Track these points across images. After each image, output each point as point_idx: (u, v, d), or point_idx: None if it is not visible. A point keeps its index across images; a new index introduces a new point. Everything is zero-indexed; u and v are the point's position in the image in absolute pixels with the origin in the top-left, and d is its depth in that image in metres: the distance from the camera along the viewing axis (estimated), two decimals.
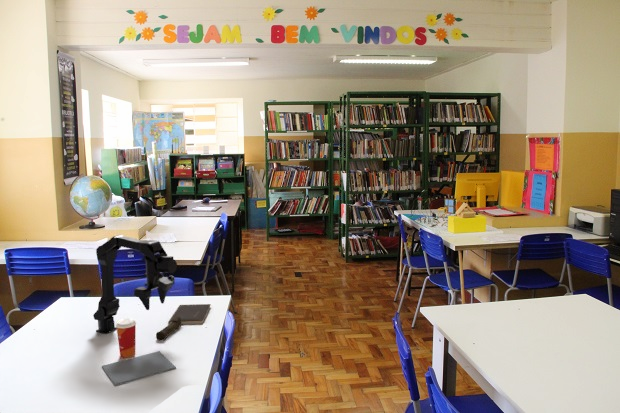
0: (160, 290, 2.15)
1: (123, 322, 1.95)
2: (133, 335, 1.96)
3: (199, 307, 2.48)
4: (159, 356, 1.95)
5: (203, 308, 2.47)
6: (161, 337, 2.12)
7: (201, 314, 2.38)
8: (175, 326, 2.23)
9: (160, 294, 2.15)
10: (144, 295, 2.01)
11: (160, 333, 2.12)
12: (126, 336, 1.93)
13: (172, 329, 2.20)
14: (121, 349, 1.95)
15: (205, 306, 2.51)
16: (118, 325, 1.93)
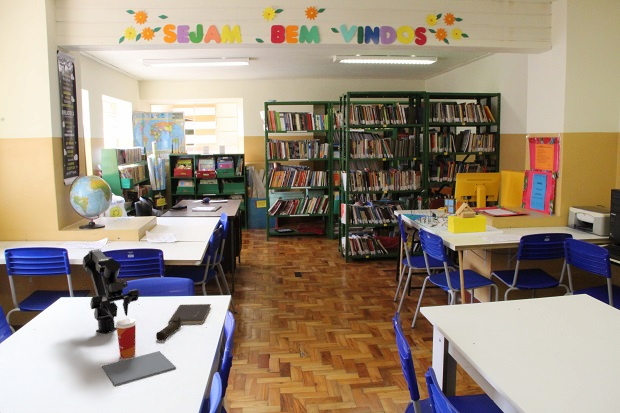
0: (123, 304, 2.07)
1: (123, 322, 1.95)
2: (133, 335, 1.96)
3: (199, 307, 2.48)
4: (159, 356, 1.95)
5: (203, 308, 2.47)
6: (162, 337, 2.12)
7: (201, 314, 2.38)
8: (175, 326, 2.23)
9: (124, 308, 2.06)
10: (93, 301, 1.99)
11: (160, 333, 2.12)
12: (126, 336, 1.93)
13: (172, 329, 2.20)
14: (121, 349, 1.95)
15: (205, 305, 2.51)
16: (118, 325, 1.93)
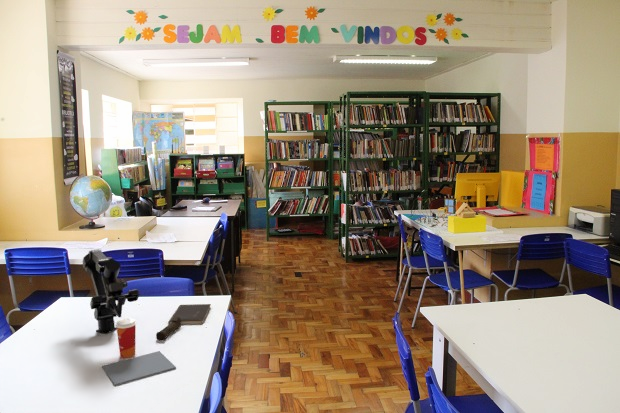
0: (117, 305, 2.06)
1: (123, 322, 1.95)
2: (133, 335, 1.96)
3: (200, 307, 2.48)
4: (159, 356, 1.95)
5: (203, 308, 2.47)
6: (162, 337, 2.12)
7: (201, 314, 2.38)
8: (175, 326, 2.23)
9: (118, 309, 2.05)
10: (92, 301, 1.99)
11: (160, 333, 2.12)
12: (126, 336, 1.93)
13: (172, 329, 2.20)
14: (121, 349, 1.95)
15: (205, 305, 2.51)
16: (118, 325, 1.93)
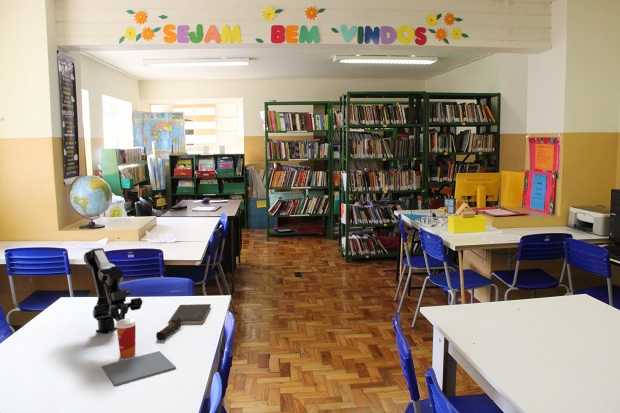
0: (120, 314, 2.04)
1: (123, 322, 1.95)
2: (133, 335, 1.96)
3: (200, 307, 2.48)
4: (159, 356, 1.95)
5: (203, 308, 2.47)
6: (162, 337, 2.12)
7: (201, 314, 2.38)
8: (175, 326, 2.23)
9: None
10: (95, 310, 1.97)
11: (160, 333, 2.12)
12: (126, 336, 1.93)
13: (172, 329, 2.20)
14: (121, 349, 1.95)
15: (205, 305, 2.51)
16: (118, 325, 1.93)
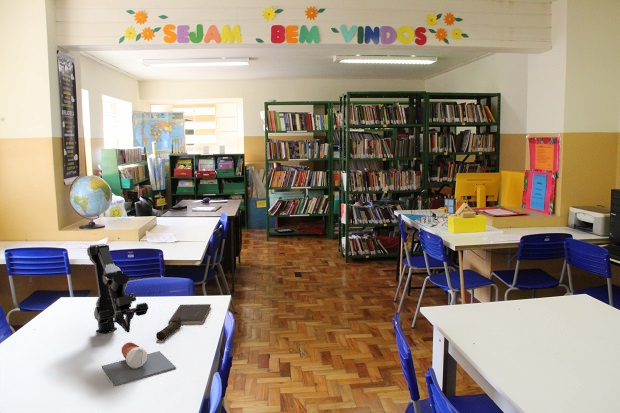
0: (126, 320, 1.98)
1: (135, 360, 1.83)
2: None
3: (200, 307, 2.48)
4: (159, 356, 1.95)
5: (203, 308, 2.47)
6: (162, 337, 2.12)
7: (201, 314, 2.38)
8: (175, 326, 2.23)
9: (126, 324, 1.97)
10: (100, 315, 1.91)
11: (160, 333, 2.12)
12: None
13: (172, 329, 2.20)
14: None
15: (205, 306, 2.51)
16: (129, 364, 1.82)
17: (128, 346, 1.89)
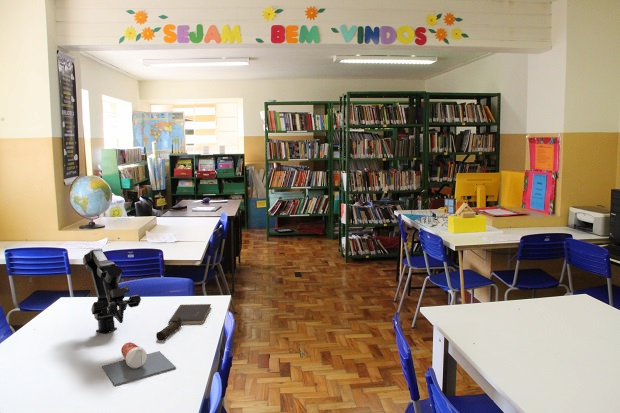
0: (119, 311, 2.05)
1: (134, 360, 1.83)
2: None
3: (200, 307, 2.48)
4: (159, 356, 1.95)
5: (203, 308, 2.46)
6: (162, 337, 2.12)
7: (201, 314, 2.38)
8: (175, 326, 2.23)
9: None
10: (94, 306, 1.98)
11: (160, 333, 2.12)
12: None
13: (172, 329, 2.20)
14: None
15: (205, 305, 2.51)
16: (128, 364, 1.82)
17: (128, 346, 1.89)
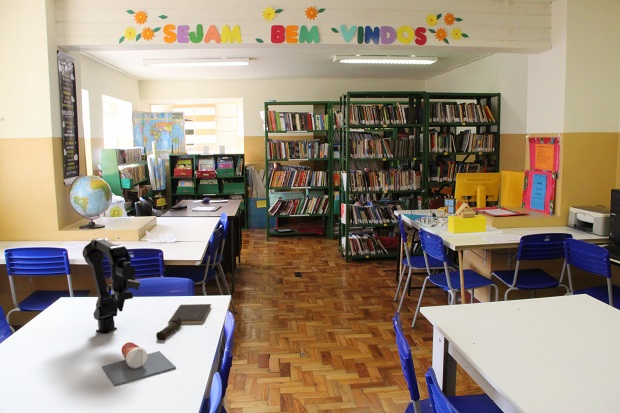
0: None
1: (134, 360, 1.83)
2: None
3: (200, 307, 2.48)
4: (159, 356, 1.95)
5: (203, 308, 2.46)
6: (162, 337, 2.12)
7: (201, 314, 2.38)
8: (175, 326, 2.23)
9: None
10: (132, 296, 2.04)
11: (160, 333, 2.12)
12: None
13: (172, 329, 2.20)
14: None
15: (205, 305, 2.51)
16: (129, 364, 1.82)
17: (128, 346, 1.89)
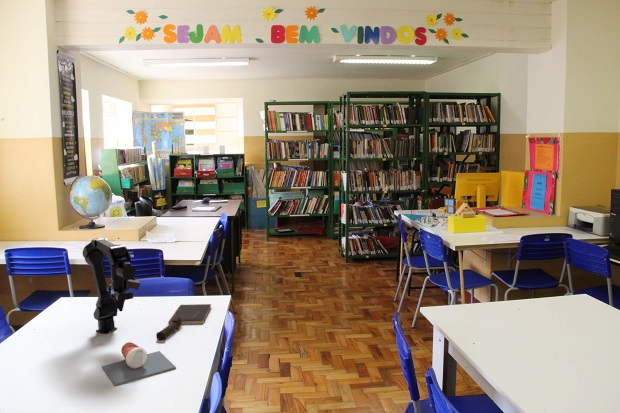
0: None
1: (134, 360, 1.83)
2: None
3: (200, 307, 2.48)
4: (159, 356, 1.95)
5: (203, 308, 2.46)
6: (162, 337, 2.12)
7: (201, 314, 2.38)
8: (175, 326, 2.23)
9: None
10: (132, 297, 2.04)
11: (160, 333, 2.12)
12: None
13: (172, 329, 2.20)
14: None
15: (205, 306, 2.51)
16: (129, 364, 1.82)
17: (128, 346, 1.89)
